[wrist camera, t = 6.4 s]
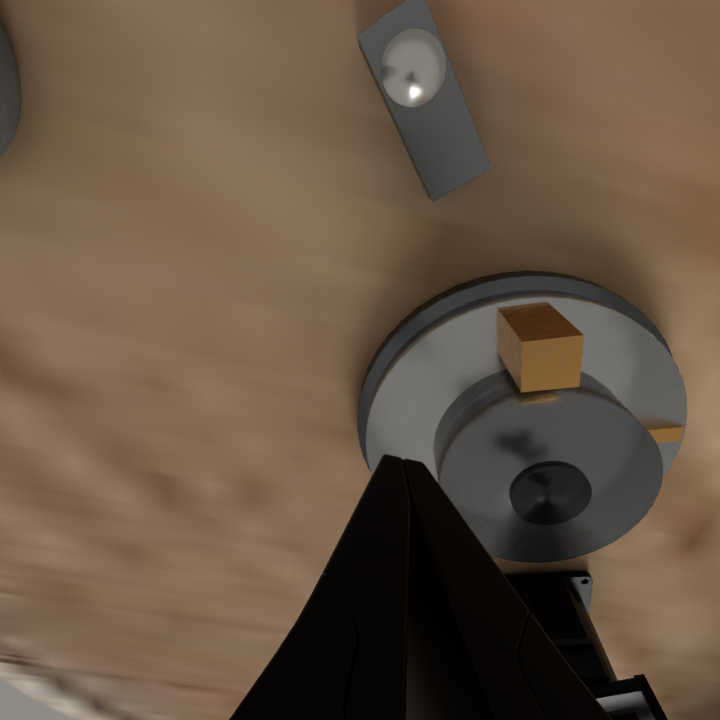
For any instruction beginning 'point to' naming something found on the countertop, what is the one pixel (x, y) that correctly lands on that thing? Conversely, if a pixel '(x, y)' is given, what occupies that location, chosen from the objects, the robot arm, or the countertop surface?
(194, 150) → the countertop surface
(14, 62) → the smart speaker
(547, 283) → the turntable base
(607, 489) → the cover
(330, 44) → the countertop surface
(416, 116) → the grey bar
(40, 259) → the countertop surface
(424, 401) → the platter
